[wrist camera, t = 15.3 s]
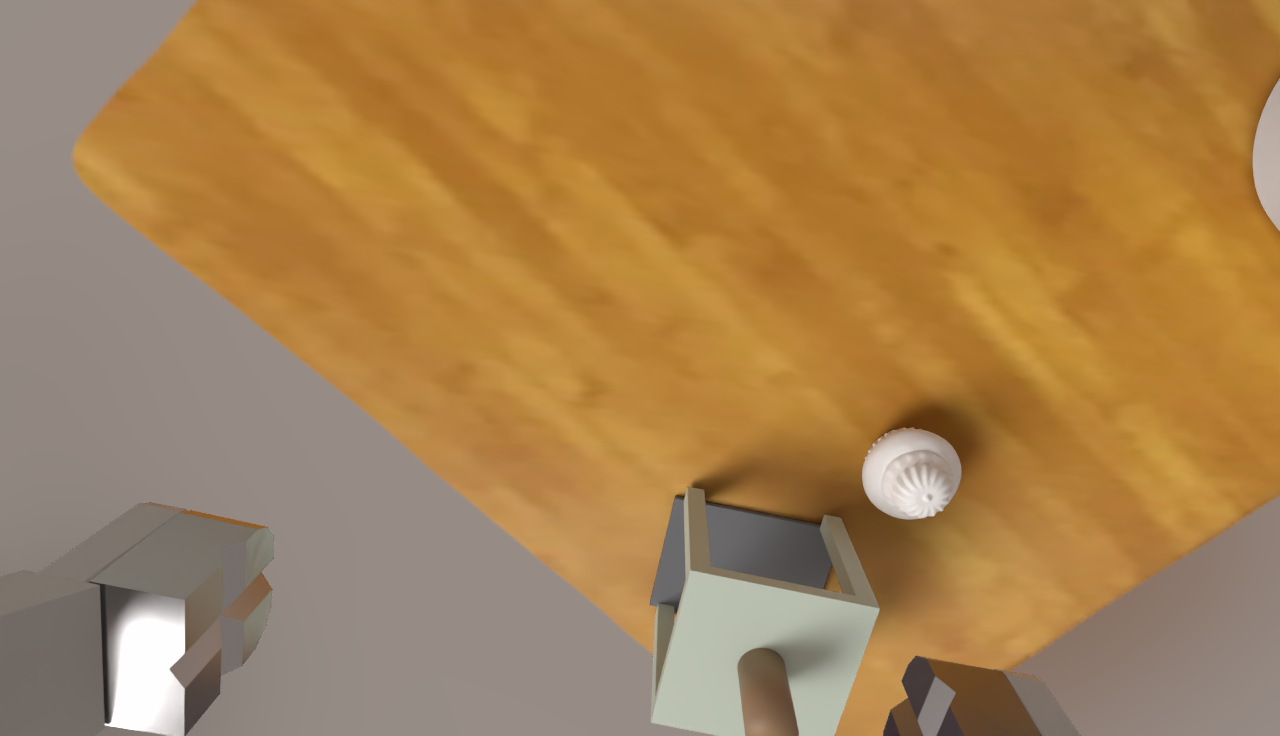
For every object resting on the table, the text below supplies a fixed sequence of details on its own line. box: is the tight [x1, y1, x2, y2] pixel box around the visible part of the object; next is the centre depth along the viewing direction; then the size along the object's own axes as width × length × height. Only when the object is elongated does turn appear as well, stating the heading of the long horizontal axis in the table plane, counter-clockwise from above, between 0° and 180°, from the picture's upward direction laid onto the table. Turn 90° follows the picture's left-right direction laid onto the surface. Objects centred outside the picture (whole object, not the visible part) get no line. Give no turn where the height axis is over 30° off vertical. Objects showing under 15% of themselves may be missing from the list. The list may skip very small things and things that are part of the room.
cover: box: [651, 486, 880, 736], centre depth 46 cm, size 11×11×15 cm
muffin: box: [862, 427, 961, 520], centre depth 47 cm, size 6×6×7 cm
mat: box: [650, 496, 832, 611], centre depth 53 cm, size 12×9×1 cm
